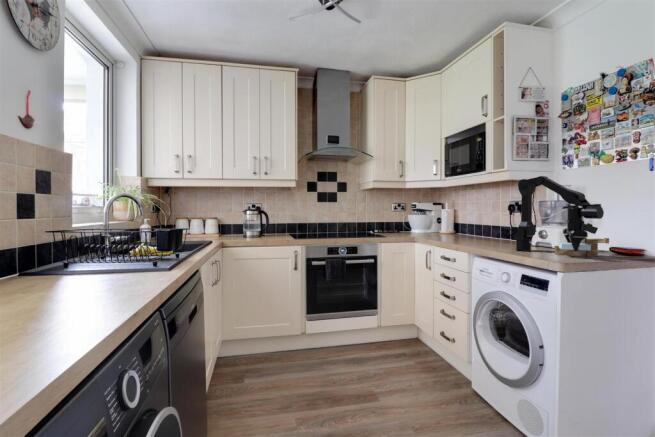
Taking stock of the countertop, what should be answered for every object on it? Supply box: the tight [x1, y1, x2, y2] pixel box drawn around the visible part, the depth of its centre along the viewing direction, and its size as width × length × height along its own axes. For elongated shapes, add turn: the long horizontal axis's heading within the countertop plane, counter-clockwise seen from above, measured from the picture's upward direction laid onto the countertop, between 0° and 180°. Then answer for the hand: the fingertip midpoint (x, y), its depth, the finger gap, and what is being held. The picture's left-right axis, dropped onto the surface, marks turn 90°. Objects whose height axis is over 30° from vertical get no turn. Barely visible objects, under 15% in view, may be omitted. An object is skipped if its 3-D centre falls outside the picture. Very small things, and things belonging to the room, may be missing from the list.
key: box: [586, 237, 610, 244], centre depth 154 cm, size 8×3×2 cm, turn 63°
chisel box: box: [554, 237, 599, 258], centre depth 158 cm, size 16×6×8 cm, turn 63°
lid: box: [558, 242, 591, 250], centre depth 151 cm, size 11×7×2 cm, turn 63°
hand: (573, 250), depth 151 cm, fingers closed on lid, 7 cm apart
